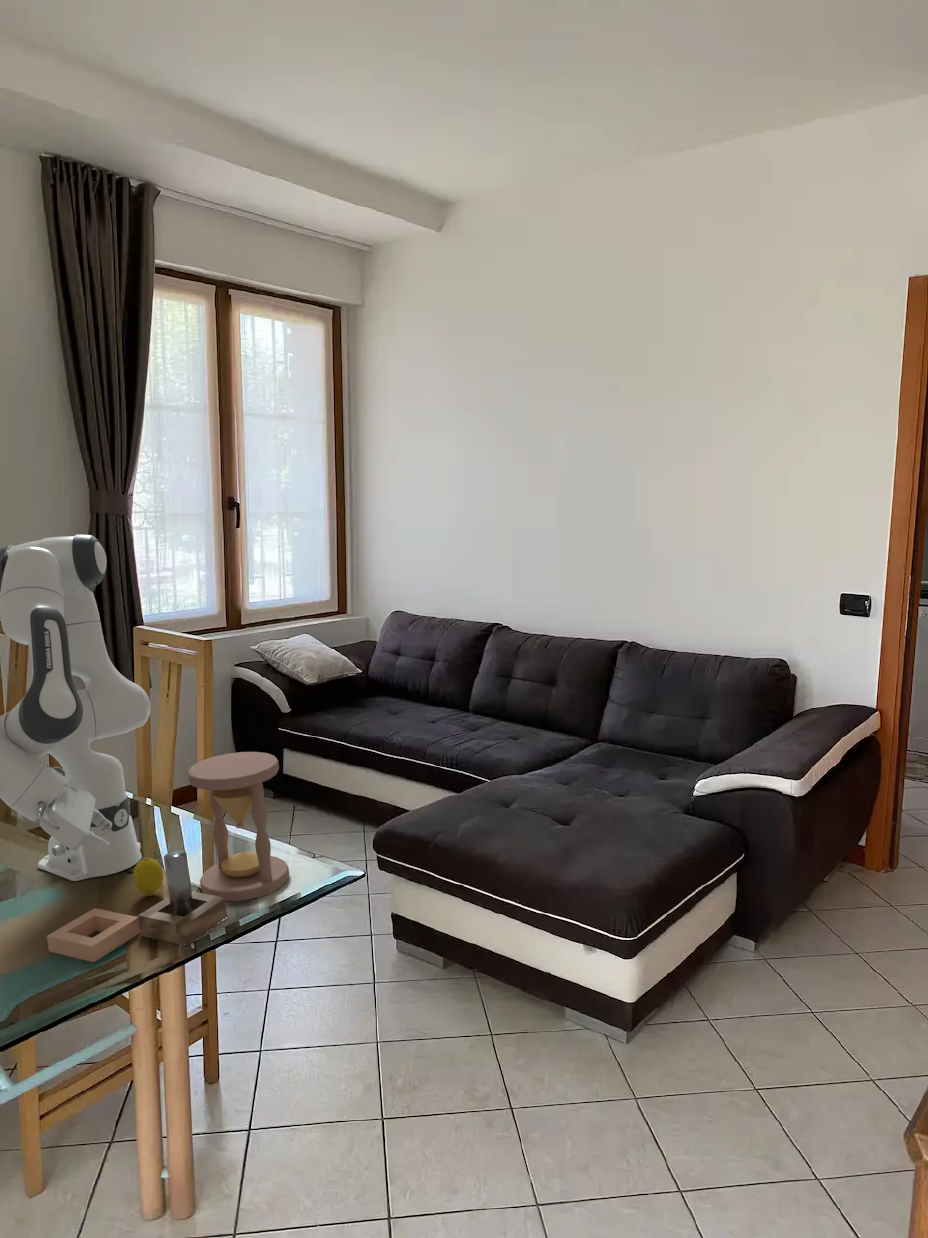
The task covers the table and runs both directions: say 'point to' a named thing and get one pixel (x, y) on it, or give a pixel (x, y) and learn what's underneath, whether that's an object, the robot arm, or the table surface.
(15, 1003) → the table surface
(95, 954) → the socket collar
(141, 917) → the square peg hole block
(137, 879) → the lemon
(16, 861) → the table surface
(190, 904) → the steel peg
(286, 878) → the hourglass
